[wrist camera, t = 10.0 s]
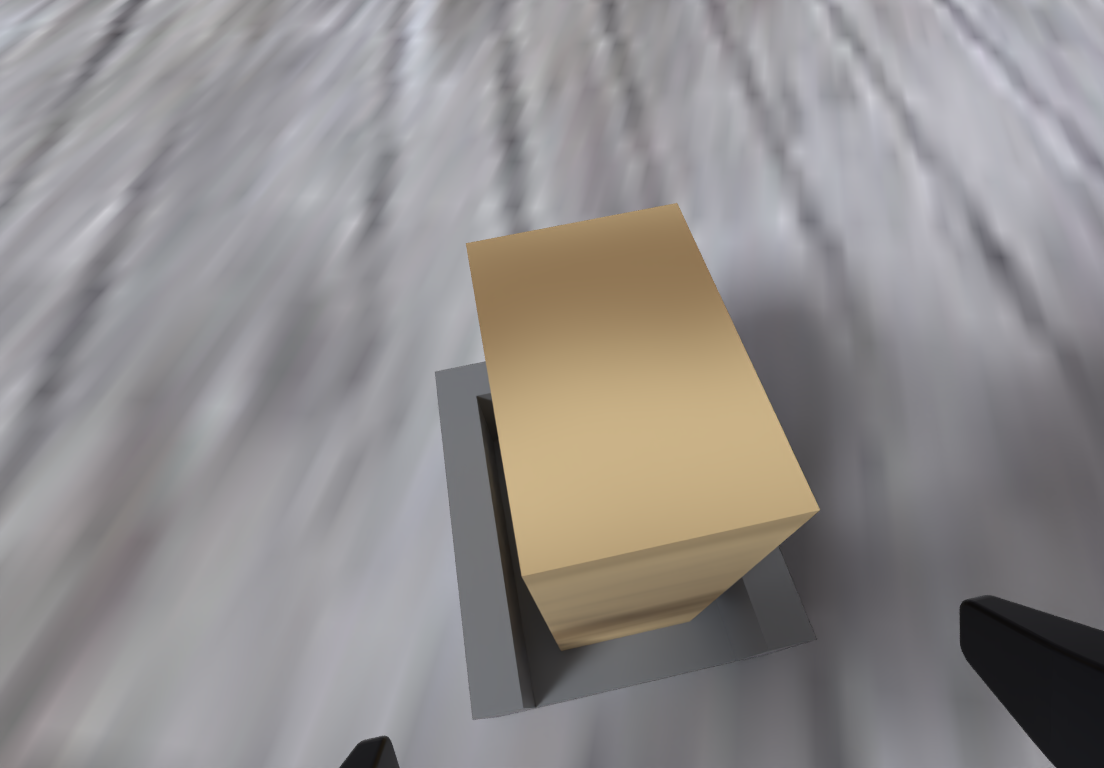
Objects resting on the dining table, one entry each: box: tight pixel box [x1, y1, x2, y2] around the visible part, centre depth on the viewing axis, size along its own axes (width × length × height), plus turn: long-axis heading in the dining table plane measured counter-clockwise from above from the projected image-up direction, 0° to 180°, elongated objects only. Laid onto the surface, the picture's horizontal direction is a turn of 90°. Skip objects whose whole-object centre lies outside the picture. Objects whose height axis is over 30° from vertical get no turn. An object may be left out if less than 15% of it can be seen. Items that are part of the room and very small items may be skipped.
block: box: [466, 203, 820, 651], centre depth 13 cm, size 6×4×11 cm, turn 11°
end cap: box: [435, 362, 817, 720], centre depth 17 cm, size 10×8×4 cm
